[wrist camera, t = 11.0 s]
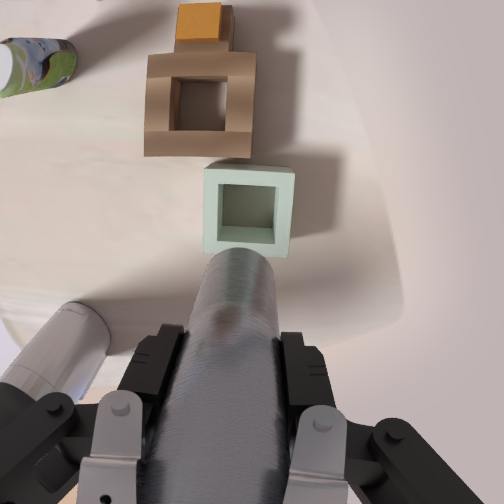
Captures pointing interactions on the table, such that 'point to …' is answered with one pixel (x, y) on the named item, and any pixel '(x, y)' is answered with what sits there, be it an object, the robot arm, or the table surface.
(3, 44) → the beverage can
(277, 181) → the rack
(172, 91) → the socket block
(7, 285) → the table surface
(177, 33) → the orange square-headed peg
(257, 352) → the peg
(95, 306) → the table surface
